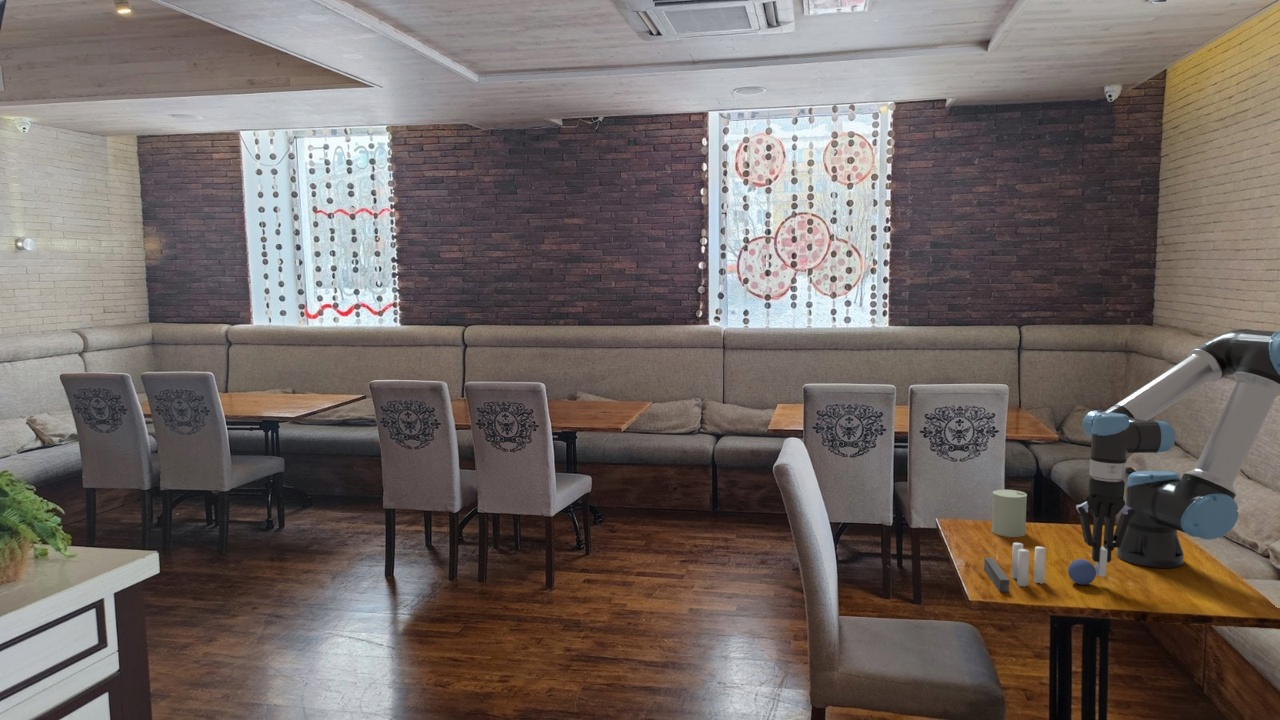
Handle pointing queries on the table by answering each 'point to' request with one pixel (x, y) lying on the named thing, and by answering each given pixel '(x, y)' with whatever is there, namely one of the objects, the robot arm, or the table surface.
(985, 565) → the back wall
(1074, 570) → the ball
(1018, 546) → the pin back right
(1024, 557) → the pin back left
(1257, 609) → the table surface
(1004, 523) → the can
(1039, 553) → the pin front
